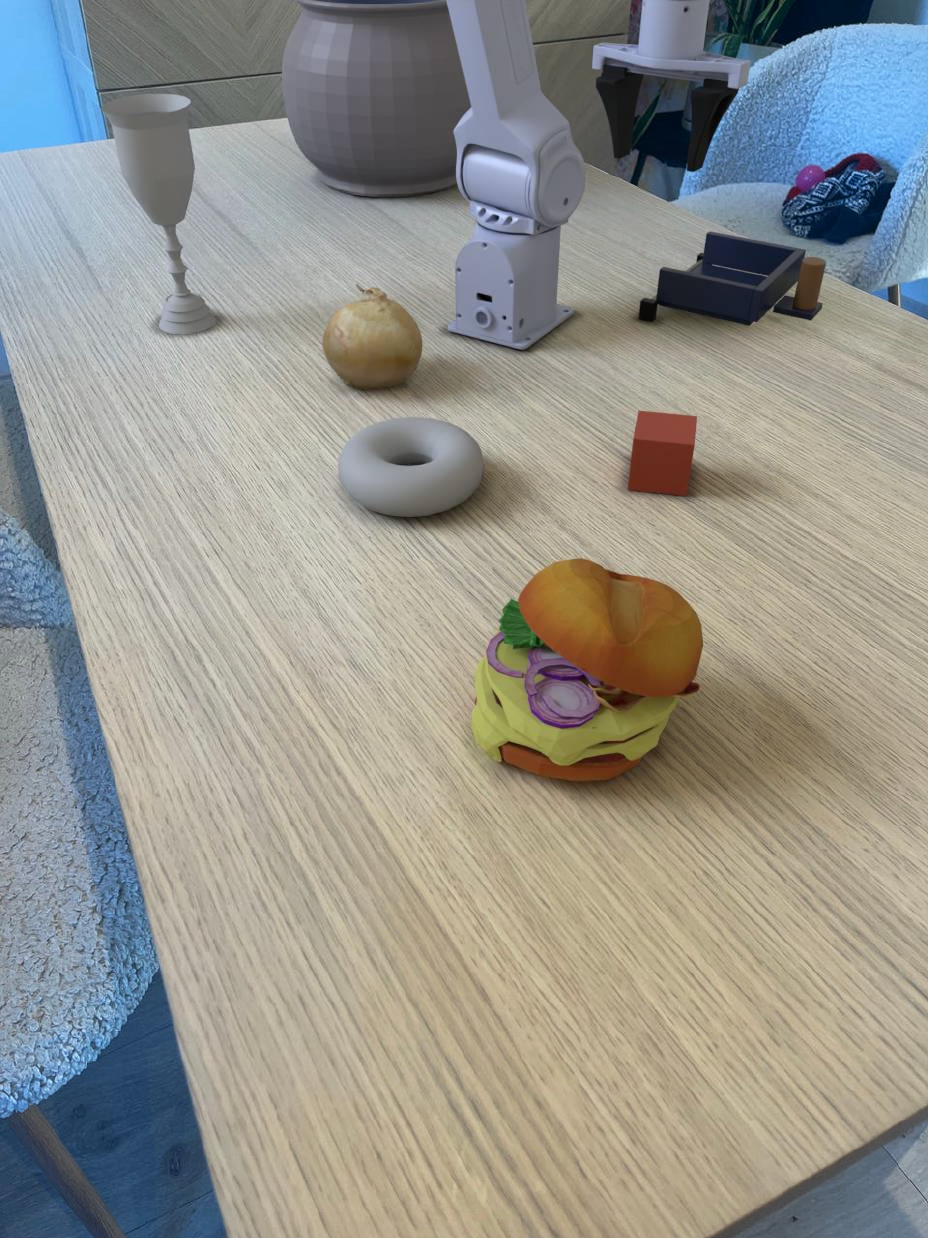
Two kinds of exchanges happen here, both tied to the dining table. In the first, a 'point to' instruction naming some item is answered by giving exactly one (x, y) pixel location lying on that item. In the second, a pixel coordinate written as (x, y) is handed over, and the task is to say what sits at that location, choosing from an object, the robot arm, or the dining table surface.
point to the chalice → (161, 186)
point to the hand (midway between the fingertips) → (657, 162)
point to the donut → (410, 491)
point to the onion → (372, 342)
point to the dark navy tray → (744, 281)
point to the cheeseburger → (585, 672)
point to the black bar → (653, 304)
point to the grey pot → (376, 94)
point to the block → (662, 453)
